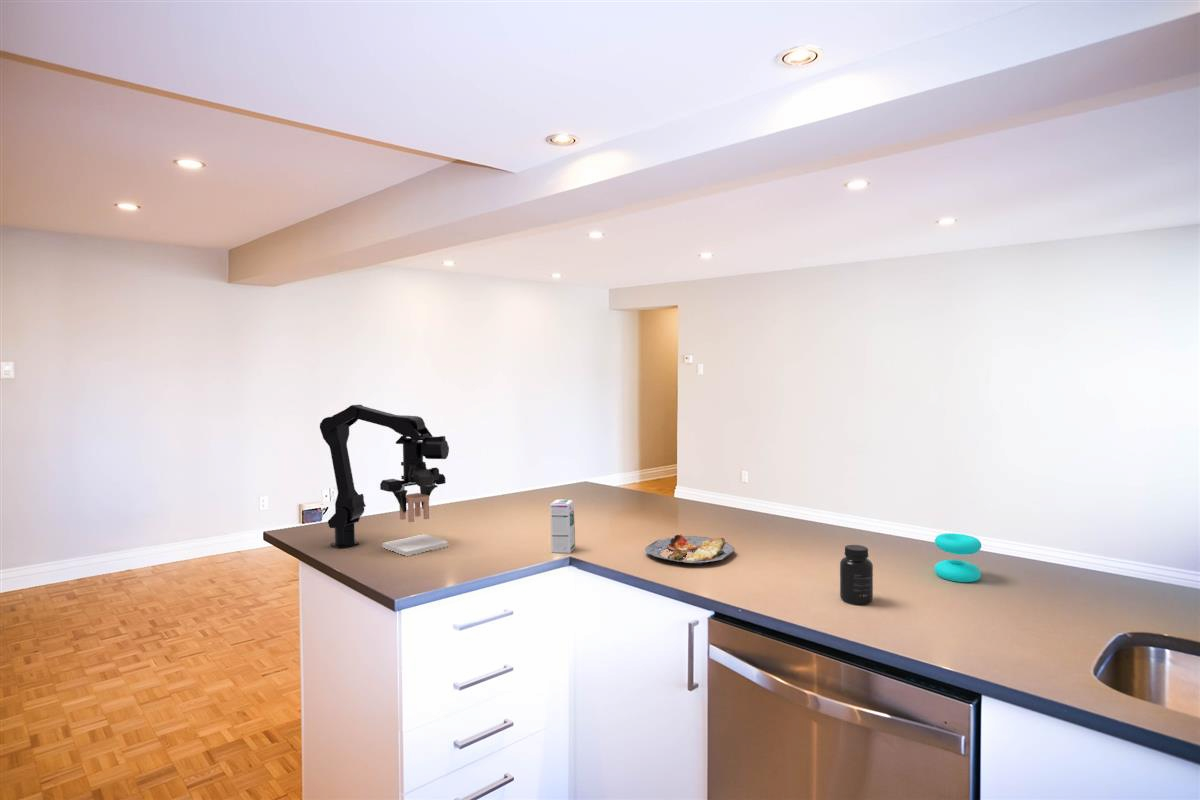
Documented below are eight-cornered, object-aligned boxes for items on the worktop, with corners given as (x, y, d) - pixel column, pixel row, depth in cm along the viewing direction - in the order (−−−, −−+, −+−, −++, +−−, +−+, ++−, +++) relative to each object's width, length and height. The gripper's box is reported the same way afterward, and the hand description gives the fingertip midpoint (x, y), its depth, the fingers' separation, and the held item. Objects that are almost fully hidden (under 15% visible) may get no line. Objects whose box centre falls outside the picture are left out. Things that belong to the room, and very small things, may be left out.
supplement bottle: (834, 595, 146) (834, 543, 145) (863, 594, 146) (863, 542, 146) (848, 606, 139) (848, 552, 138) (878, 605, 139) (879, 550, 139)
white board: (382, 547, 191) (382, 543, 191) (424, 538, 201) (423, 534, 201) (406, 556, 182) (406, 551, 181) (448, 546, 192) (448, 541, 192)
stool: (410, 522, 187) (409, 498, 186) (399, 519, 191) (398, 496, 191) (429, 518, 191) (429, 495, 191) (418, 515, 196) (418, 492, 195)
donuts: (990, 542, 152) (947, 542, 152) (989, 583, 152) (947, 584, 152) (967, 531, 162) (927, 532, 162) (966, 570, 162) (927, 571, 162)
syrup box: (570, 553, 182) (569, 503, 182) (550, 552, 184) (549, 502, 183) (575, 548, 188) (574, 499, 187) (556, 547, 189) (555, 498, 189)
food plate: (670, 538, 197) (670, 527, 197) (744, 549, 185) (744, 537, 185) (633, 562, 175) (632, 549, 175) (713, 575, 164) (713, 562, 163)
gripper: (397, 464, 178) (399, 520, 179) (455, 457, 191) (456, 509, 192) (378, 461, 186) (380, 514, 186) (435, 454, 199) (436, 504, 200)
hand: (414, 510), depth 191 cm, fingers closed on stool, 6 cm apart
